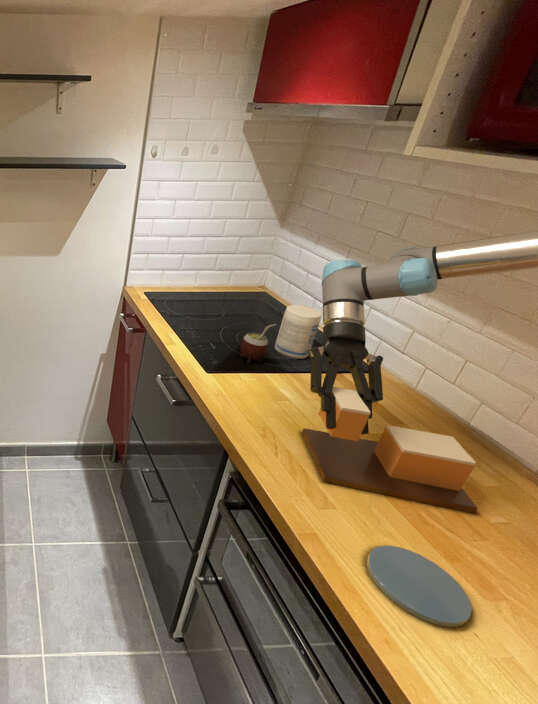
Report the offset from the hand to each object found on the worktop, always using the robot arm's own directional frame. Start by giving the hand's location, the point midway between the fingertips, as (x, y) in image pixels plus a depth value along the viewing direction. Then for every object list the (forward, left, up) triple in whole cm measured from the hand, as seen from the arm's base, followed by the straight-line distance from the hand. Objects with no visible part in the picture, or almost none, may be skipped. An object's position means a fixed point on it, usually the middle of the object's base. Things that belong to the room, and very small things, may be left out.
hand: (347, 430), depth 92 cm
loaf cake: (-14, -9, -9) cm, 19 cm away
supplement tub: (+14, -53, -11) cm, 56 cm away
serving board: (-9, -7, -11) cm, 15 cm away
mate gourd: (+23, -40, -11) cm, 47 cm away
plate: (-13, +22, -11) cm, 28 cm away
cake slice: (+1, -3, -2) cm, 4 cm away
